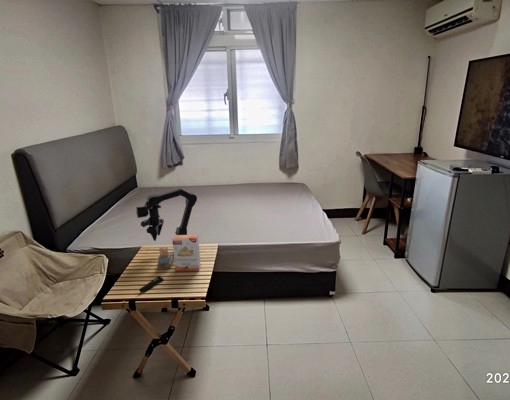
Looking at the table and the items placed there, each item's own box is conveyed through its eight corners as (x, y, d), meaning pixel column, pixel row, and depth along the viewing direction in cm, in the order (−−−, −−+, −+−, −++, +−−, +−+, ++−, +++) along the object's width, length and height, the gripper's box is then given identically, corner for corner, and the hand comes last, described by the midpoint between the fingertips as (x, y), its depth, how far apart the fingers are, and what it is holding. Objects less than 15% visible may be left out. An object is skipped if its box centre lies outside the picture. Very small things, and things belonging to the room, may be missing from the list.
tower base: (173, 262, 195) (173, 257, 194) (171, 268, 187) (170, 263, 186) (160, 263, 194) (160, 258, 194) (157, 269, 187) (157, 264, 186)
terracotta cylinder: (169, 254, 191) (168, 246, 190) (167, 257, 186) (167, 249, 185) (160, 254, 191) (159, 246, 189) (159, 258, 186) (158, 250, 185)
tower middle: (171, 258, 193) (170, 253, 192) (169, 263, 187) (169, 257, 186) (160, 259, 193) (160, 253, 192) (158, 263, 186) (157, 258, 186)
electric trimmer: (137, 293, 162) (136, 288, 161) (159, 279, 175) (158, 274, 174) (143, 295, 160) (142, 289, 160) (164, 280, 174) (163, 275, 173)
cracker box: (175, 271, 183) (171, 238, 177) (177, 267, 188) (174, 234, 183) (199, 271, 182) (196, 237, 177) (200, 266, 188) (198, 234, 183)
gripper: (145, 211, 208) (148, 233, 212) (136, 220, 190) (139, 244, 194) (162, 210, 208) (165, 232, 212) (155, 219, 190) (157, 243, 194)
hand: (156, 237), depth 203 cm, fingers open, 9 cm apart
